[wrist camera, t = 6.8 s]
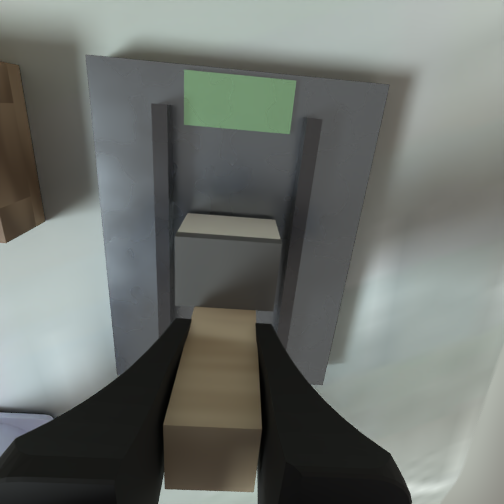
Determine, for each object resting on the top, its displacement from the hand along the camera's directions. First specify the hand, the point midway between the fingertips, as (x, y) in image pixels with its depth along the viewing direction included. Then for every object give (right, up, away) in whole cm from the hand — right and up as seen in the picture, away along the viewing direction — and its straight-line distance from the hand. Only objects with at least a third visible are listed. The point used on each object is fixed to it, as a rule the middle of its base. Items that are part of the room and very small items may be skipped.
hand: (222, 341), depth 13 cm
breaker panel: (0, +4, +5) cm, 6 cm away
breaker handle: (0, +4, +3) cm, 5 cm away
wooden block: (0, +1, +3) cm, 3 cm away
